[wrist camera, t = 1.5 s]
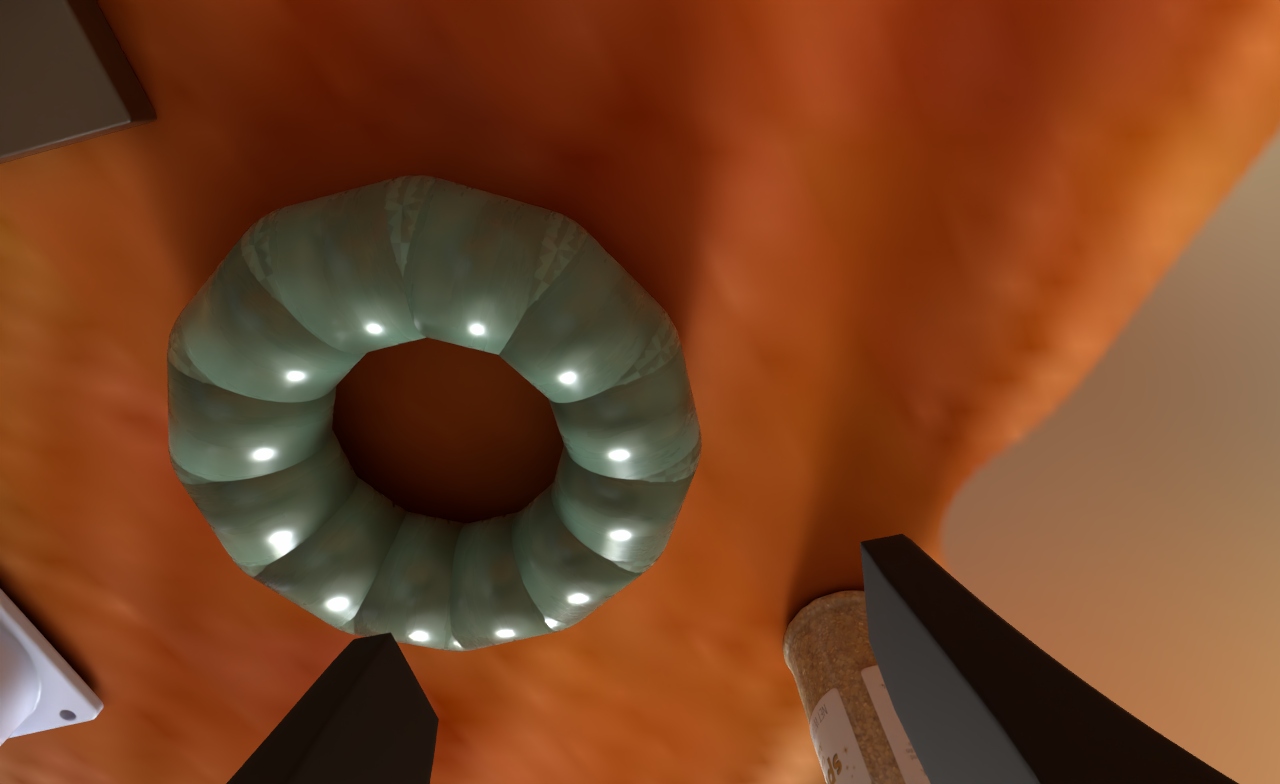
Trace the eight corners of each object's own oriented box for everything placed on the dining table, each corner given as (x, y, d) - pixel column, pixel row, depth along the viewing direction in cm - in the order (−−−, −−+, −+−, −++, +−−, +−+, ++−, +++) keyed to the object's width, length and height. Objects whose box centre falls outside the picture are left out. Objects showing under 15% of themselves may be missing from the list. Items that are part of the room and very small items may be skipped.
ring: (344, 621, 22) (299, 715, 19) (118, 246, 16) (-2, 288, 13) (723, 537, 21) (744, 619, 18) (626, 111, 16) (631, 121, 12)
